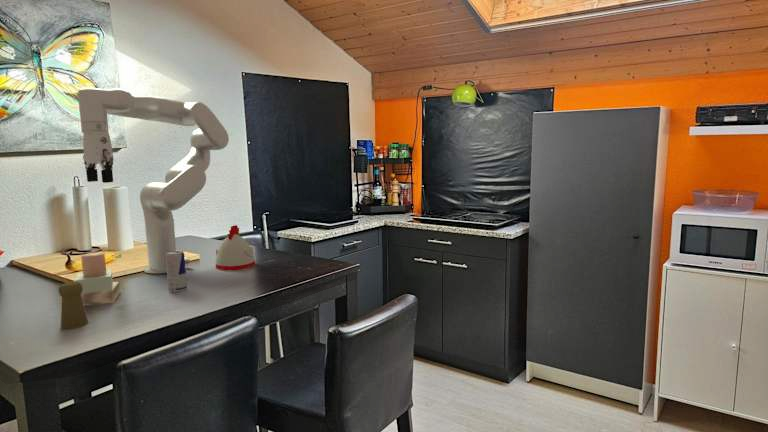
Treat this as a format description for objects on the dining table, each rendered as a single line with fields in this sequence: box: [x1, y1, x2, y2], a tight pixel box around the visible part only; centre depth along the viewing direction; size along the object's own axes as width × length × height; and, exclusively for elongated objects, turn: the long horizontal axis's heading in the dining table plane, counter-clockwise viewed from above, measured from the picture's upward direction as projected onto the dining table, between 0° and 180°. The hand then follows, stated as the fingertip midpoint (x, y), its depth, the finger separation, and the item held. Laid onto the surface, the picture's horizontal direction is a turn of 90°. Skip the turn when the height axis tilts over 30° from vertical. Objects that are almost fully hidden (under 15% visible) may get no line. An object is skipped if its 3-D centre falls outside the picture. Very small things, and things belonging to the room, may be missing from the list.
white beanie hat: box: [215, 224, 256, 271], centre depth 192 cm, size 14×14×15 cm
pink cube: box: [80, 252, 107, 278], centre depth 153 cm, size 6×6×6 cm
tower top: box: [74, 269, 114, 294], centre depth 154 cm, size 9×9×4 cm
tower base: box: [81, 281, 121, 307], centre depth 154 cm, size 11×11×4 cm
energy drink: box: [166, 250, 188, 293], centre depth 162 cm, size 5×5×12 cm
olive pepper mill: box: [58, 281, 89, 330], centre depth 132 cm, size 6×6×11 cm
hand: (100, 181), depth 169 cm, fingers open, 9 cm apart
